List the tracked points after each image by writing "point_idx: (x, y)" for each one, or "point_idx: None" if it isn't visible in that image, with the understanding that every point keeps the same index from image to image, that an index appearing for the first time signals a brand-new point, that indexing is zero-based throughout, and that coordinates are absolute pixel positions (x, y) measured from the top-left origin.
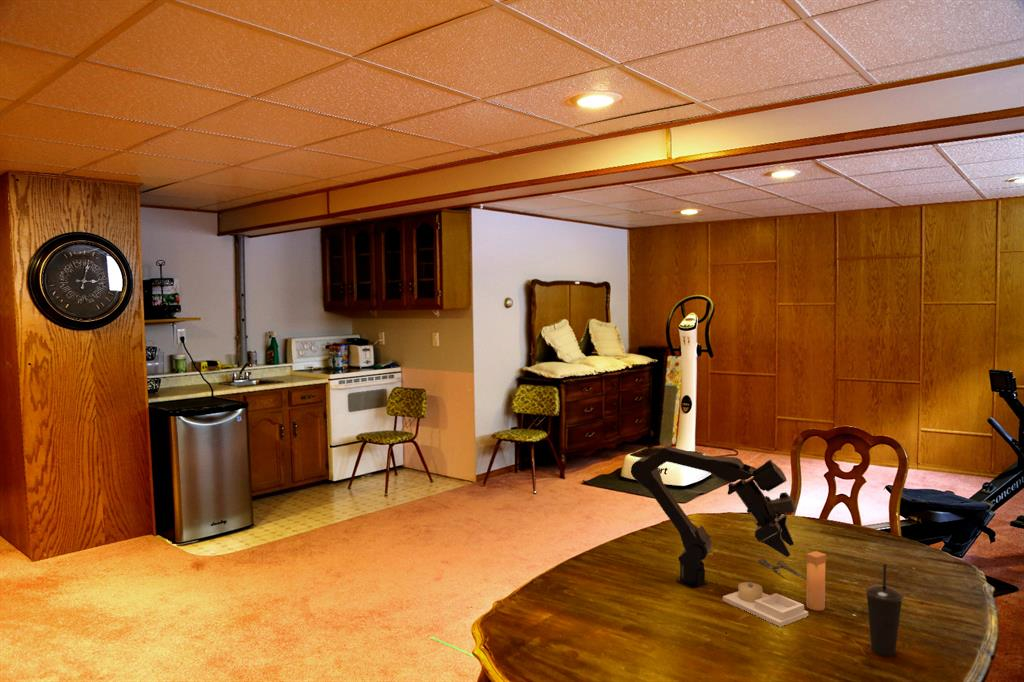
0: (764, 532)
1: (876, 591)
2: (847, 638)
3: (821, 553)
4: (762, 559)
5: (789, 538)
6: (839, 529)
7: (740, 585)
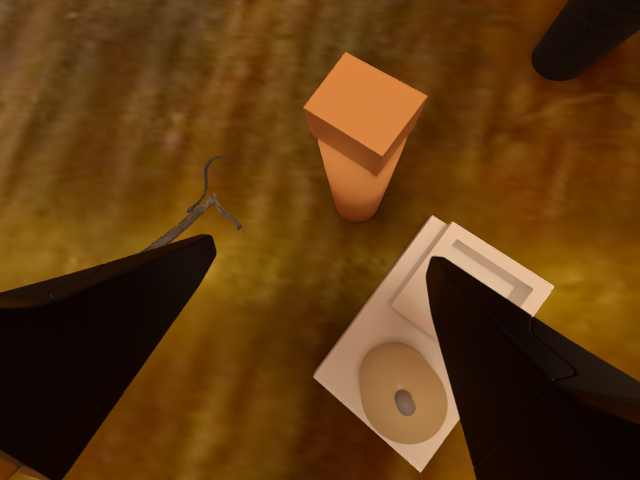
0: None
1: None
2: (525, 129)
3: (336, 77)
4: None
5: (182, 259)
6: None
7: (407, 437)
